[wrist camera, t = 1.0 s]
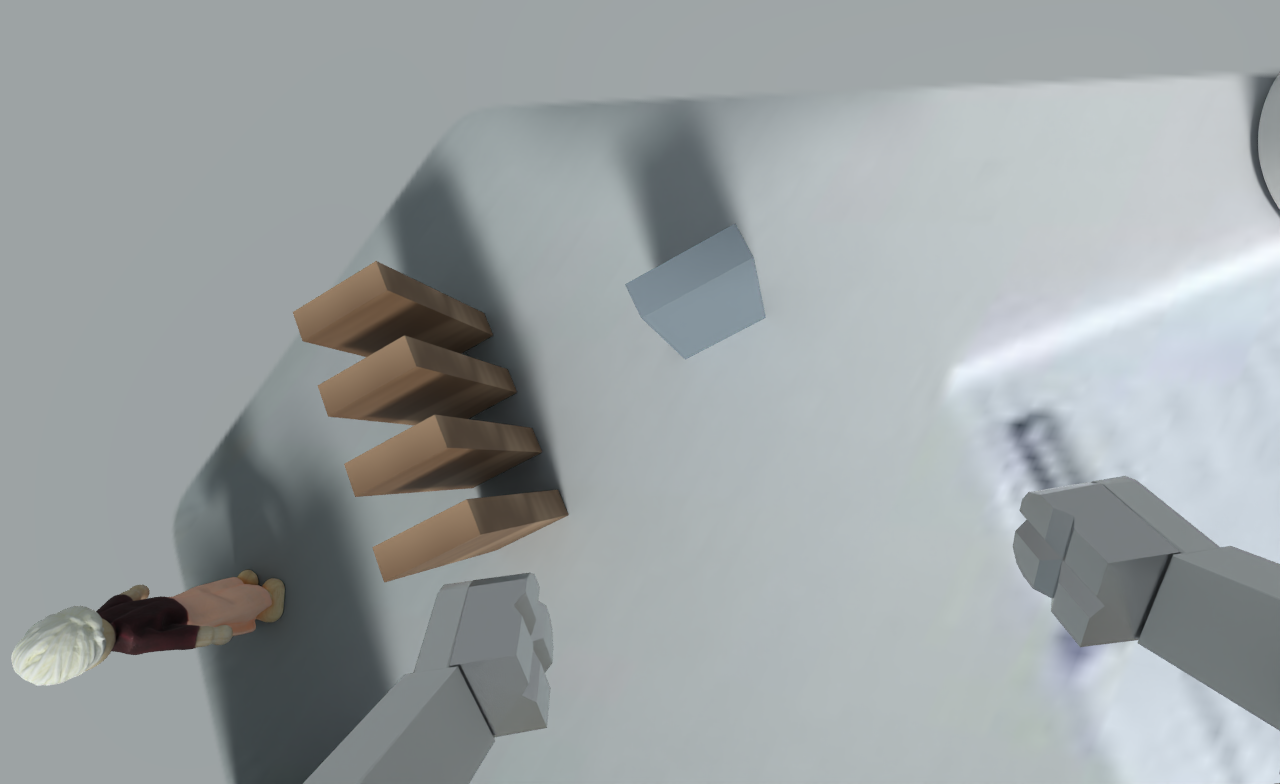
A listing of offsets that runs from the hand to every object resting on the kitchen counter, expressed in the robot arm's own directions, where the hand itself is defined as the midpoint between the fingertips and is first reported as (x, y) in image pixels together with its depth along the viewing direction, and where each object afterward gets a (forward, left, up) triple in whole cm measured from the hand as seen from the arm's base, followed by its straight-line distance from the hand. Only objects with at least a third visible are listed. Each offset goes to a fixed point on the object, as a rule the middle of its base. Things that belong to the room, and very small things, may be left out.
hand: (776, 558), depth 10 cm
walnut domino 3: (+14, -9, -22) cm, 28 cm away
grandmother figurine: (+33, -8, -23) cm, 41 cm away
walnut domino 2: (+14, -13, -22) cm, 30 cm away
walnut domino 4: (+14, -5, -22) cm, 27 cm away
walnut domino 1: (+14, -17, -22) cm, 31 cm away
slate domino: (-1, -10, -22) cm, 24 cm away
